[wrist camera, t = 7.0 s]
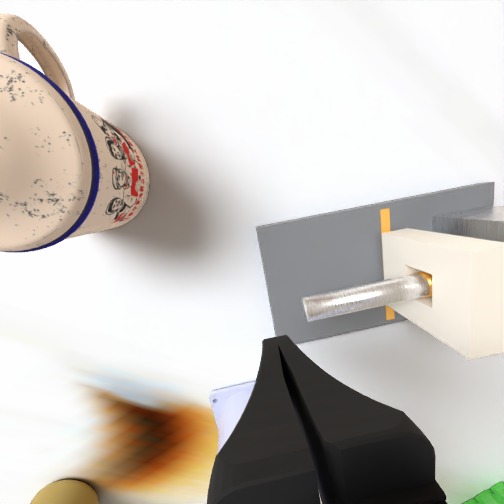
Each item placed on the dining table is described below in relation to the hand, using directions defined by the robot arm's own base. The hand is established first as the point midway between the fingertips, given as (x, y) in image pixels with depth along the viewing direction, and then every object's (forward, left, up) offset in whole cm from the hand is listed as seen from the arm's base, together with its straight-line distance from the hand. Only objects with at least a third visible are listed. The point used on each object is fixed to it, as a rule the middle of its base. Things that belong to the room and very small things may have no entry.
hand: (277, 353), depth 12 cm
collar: (0, -13, -9) cm, 16 cm away
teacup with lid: (+14, +11, -11) cm, 20 cm away
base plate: (0, -12, -10) cm, 16 cm away
